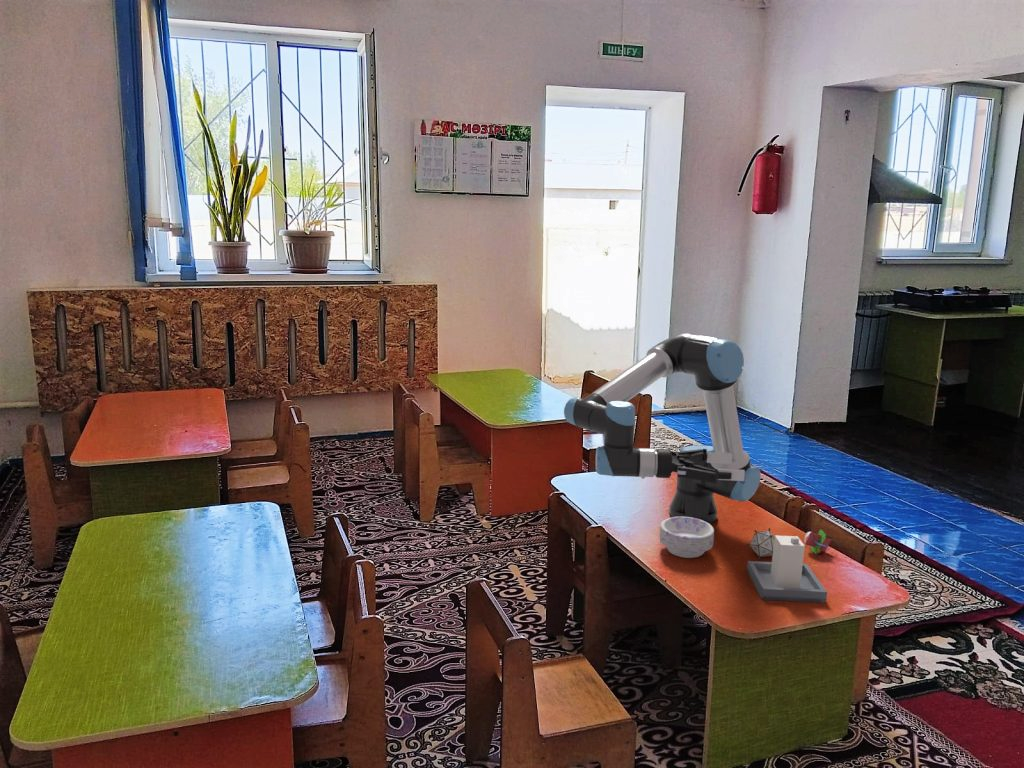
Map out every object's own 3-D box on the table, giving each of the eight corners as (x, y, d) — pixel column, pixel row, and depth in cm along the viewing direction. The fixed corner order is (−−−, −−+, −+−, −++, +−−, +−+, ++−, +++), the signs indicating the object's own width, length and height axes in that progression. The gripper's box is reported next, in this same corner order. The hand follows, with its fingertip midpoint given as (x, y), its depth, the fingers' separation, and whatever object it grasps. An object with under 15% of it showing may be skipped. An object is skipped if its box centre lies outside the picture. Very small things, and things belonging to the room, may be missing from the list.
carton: (770, 576, 206) (775, 531, 203) (792, 578, 206) (798, 532, 203) (776, 587, 200) (781, 541, 198) (799, 588, 200) (805, 542, 197)
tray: (746, 571, 211) (747, 561, 211) (805, 573, 211) (806, 563, 210) (762, 599, 196) (763, 588, 195) (825, 602, 195) (827, 592, 194)
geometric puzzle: (830, 540, 228) (816, 520, 227) (841, 550, 221) (827, 529, 220) (809, 553, 229) (796, 533, 227) (820, 563, 222) (806, 543, 220)
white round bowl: (663, 562, 215) (665, 536, 214) (654, 539, 230) (656, 515, 229) (718, 564, 215) (720, 537, 214) (705, 541, 230) (707, 516, 229)
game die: (767, 570, 220) (784, 554, 213) (740, 558, 221) (755, 540, 214) (772, 546, 226) (788, 529, 219) (745, 534, 227) (760, 516, 220)
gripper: (648, 461, 213) (725, 465, 212) (660, 493, 189) (748, 497, 188) (650, 435, 211) (728, 438, 210) (662, 464, 187) (751, 468, 186)
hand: (737, 466), depth 199 cm, fingers open, 13 cm apart
